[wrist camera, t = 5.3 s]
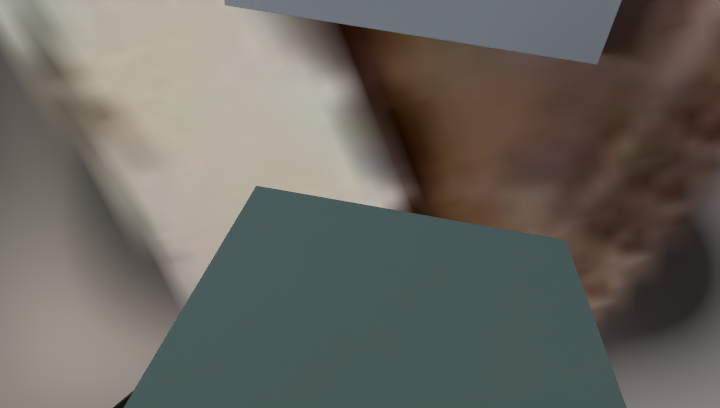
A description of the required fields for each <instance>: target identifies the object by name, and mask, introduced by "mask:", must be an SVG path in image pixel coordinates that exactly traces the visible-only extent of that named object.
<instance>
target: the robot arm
mask: <svg viewBox="0 0 720 408" xmlns="http://www.w3.org/2000/svg"><path fill="white" fill-rule="evenodd" d="M132 393H133V392H131V393H130V394H129V395H128V396H127V397H125V398H124V399H123V400H122V401H120V402H119V403H118V404H117V405H116V406H115V407H113V408H124V406H125V405H126V403H127V401H128V400H129V398H130V396H131V395H132Z"/></svg>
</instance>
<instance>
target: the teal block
mask: <svg viewBox="0 0 720 408" xmlns="http://www.w3.org/2000/svg"><path fill="white" fill-rule="evenodd" d="M124 408H626V406H625V403H624V400H623V397H622V395H621V392H620V389H619V386H618V383H617V381H616V378H615V375H614V373H613V370H612V367H611V364H610V361H609V359H608V356H607V353H606V350H605V348H604V345H603V342H602V339H601V336H600V334H599V331H598V328H597V325H596V323H595V320H594V317H593V314H592V312H591V309H590V306H589V303H588V300H587V298H586V295H585V292H584V289H583V287H582V284H581V281H580V278H579V276H578V273H577V270H576V267H575V265H574V262H573V259H572V256H571V254H570V251H569V248H568V245H567V242H566V240H562V239H556V238H551V237H545V236H539V235H533V234H528V233H522V232H516V231H511V230H505V229H499V228H493V227H488V226H482V225H476V224H471V223H465V222H459V221H454V220H448V219H442V218H436V217H431V216H425V215H419V214H414V213H408V212H402V211H396V210H391V209H385V208H379V207H374V206H368V205H362V204H357V203H351V202H345V201H339V200H334V199H328V198H322V197H317V196H311V195H305V194H299V193H294V192H288V191H282V190H277V189H271V188H265V187H260V186H256V187H255V189H254V191H253V192H252V194H251V196H250V198H249V199H248V201H247V203H246V204H245V206H244V208H243V209H242V211H241V213H240V214H239V216H238V218H237V219H236V221H235V223H234V224H233V226H232V228H231V229H230V231H229V233H228V234H227V236H226V238H225V239H224V241H223V243H222V244H221V246H220V248H219V249H218V251H217V253H216V254H215V256H214V258H213V259H212V261H211V263H210V264H209V266H208V268H207V269H206V271H205V273H204V274H203V276H202V278H201V279H200V281H199V283H198V284H197V286H196V288H195V289H194V291H193V293H192V294H191V296H190V298H189V299H188V301H187V303H186V304H185V306H184V308H183V309H182V311H181V313H180V314H179V316H178V318H177V320H176V321H175V323H174V324H173V326H172V328H171V329H170V331H169V333H168V335H167V336H166V338H165V339H164V341H163V343H162V344H161V346H160V348H159V349H158V351H157V353H156V354H155V356H154V358H153V360H152V361H151V363H150V364H149V366H148V368H147V370H146V371H145V373H144V374H143V376H142V378H141V380H140V381H139V383H138V385H137V386H136V388H135V390H134V391H133V393H132V395H131V396H130V398H129V400H128V401H127V403H126V405H125V406H124Z"/></svg>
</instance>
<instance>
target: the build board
mask: <svg viewBox="0 0 720 408" xmlns="http://www.w3.org/2000/svg"><path fill="white" fill-rule="evenodd" d="M621 1H622V0H225V5H227V6H234V7H240V8H246V9H253V10H259V11H265V12H271V13H278V14H284V15H290V16H296V17H303V18H309V19H315V20H321V21H328V22H334V23H340V24H346V25H353V26H359V27H365V28H371V29H378V30H384V31H390V32H396V33H403V34H409V35H415V36H422V37H428V38H434V39H440V40H447V41H453V42H459V43H465V44H472V45H478V46H484V47H490V48H497V49H503V50H509V51H515V52H522V53H528V54H534V55H540V56H547V57H553V58H559V59H566V60H572V61H578V62H584V63H591V64H598V61H599V58H600V56H601V53H602V51H603V48H604V45H605V43H606V40H607V37H608V35H609V32H610V30H611V27H612V24H613V22H614V19H615V17H616V14H617V11H618V9H619V6H620V3H621Z"/></svg>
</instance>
